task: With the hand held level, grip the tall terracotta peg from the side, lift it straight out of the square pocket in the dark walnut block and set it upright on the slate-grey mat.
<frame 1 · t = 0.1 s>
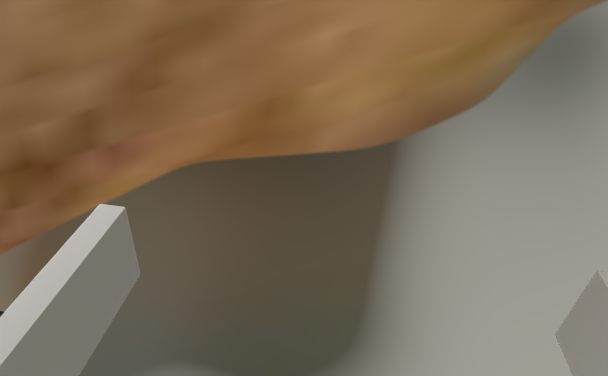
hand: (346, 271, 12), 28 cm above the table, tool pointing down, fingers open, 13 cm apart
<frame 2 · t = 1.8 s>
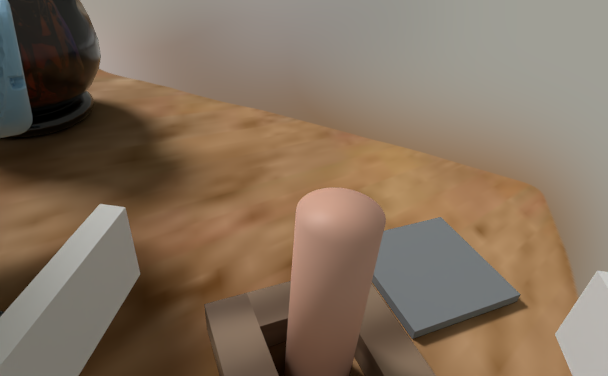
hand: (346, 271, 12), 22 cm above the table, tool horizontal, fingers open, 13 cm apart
amphora vase: (36, 116, 64), on the table
slate mat: (427, 272, 42), on the table
terracotta peg: (326, 306, 28), in the walnut pocket block
walnut pocket block: (316, 373, 33), on the table
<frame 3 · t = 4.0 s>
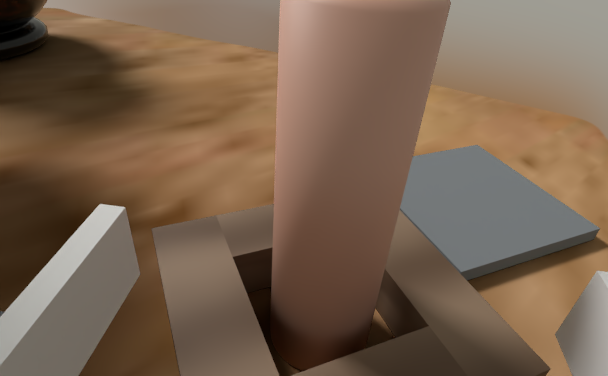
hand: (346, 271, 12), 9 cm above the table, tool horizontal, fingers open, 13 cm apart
slate mat: (467, 205, 31), on the table
terracotta peg: (335, 205, 17), in the walnut pocket block
walnut pocket block: (318, 328, 22), on the table
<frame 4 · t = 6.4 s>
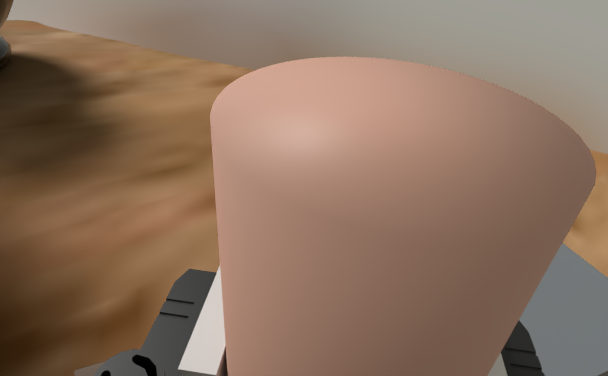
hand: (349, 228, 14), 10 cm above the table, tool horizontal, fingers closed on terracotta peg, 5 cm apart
slate mat: (502, 292, 25), on the table
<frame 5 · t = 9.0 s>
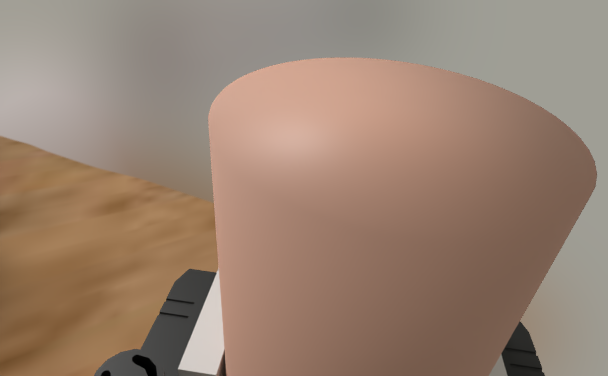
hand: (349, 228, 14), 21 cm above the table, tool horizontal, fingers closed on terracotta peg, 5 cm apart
when the fingers open (12 cm above the table, at t = 11.7 s): terracotta peg drops 1 cm, resting on slate mat.
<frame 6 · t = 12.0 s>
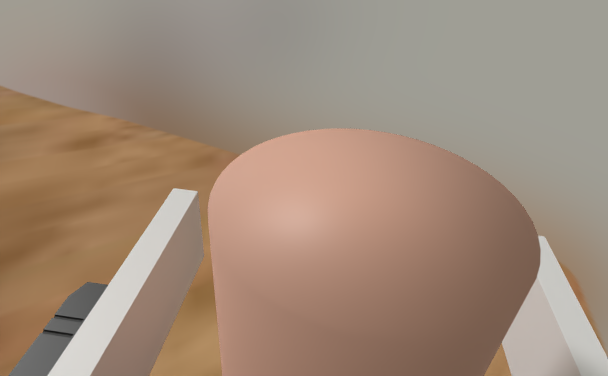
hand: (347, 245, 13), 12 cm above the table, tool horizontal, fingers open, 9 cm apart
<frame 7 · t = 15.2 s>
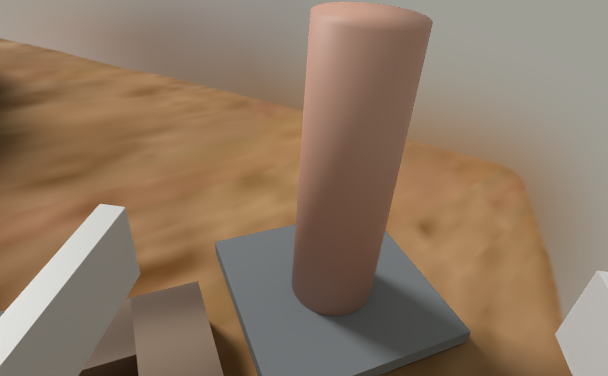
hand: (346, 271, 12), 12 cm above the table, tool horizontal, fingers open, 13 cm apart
slate mat: (329, 293, 27), on the table
terracotta peg: (347, 176, 22), on the slate mat, point 9 cm above the table
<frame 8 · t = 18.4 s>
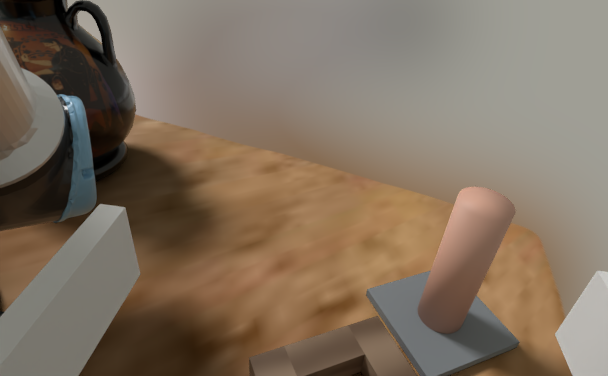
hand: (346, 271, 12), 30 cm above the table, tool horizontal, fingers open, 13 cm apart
amphora vase: (76, 163, 70), on the table
slate mat: (437, 320, 48), on the table
terracotta peg: (460, 264, 43), on the slate mat, point 9 cm above the table
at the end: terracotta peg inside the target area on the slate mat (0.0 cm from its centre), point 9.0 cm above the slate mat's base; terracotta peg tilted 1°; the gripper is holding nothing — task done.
